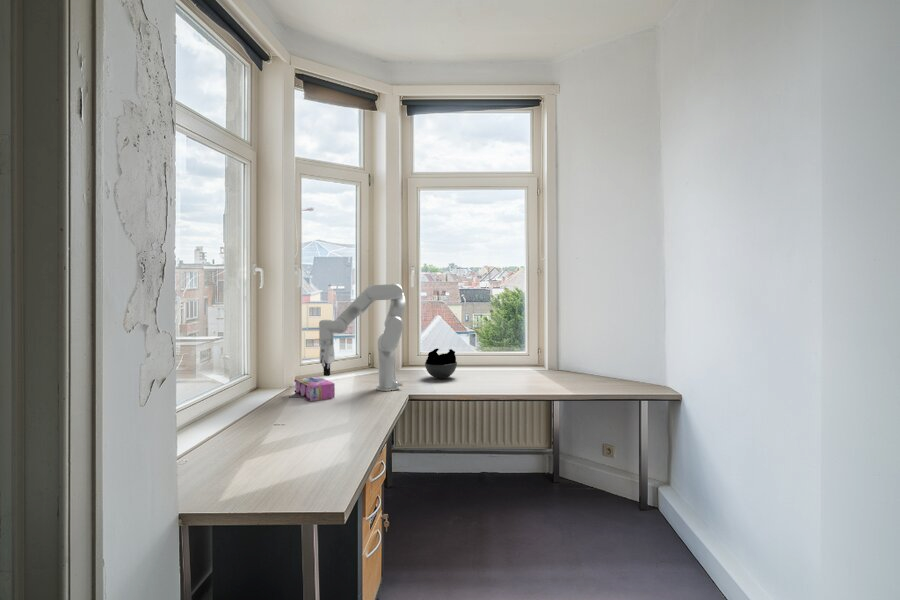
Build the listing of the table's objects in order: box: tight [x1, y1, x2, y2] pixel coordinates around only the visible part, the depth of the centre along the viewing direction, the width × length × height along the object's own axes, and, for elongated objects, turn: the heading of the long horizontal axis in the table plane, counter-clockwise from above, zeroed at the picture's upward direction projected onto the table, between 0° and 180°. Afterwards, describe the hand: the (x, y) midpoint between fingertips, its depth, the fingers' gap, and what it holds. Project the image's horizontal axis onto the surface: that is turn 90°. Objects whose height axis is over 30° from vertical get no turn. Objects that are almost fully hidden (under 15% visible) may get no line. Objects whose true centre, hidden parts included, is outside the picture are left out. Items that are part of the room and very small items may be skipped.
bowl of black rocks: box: [424, 348, 458, 380], centre depth 313 cm, size 20×20×19 cm
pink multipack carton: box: [293, 375, 336, 402], centre depth 270 cm, size 24×8×14 cm
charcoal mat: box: [288, 392, 305, 399], centre depth 279 cm, size 15×25×1 cm, turn 170°
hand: (327, 375), depth 277 cm, fingers closed
